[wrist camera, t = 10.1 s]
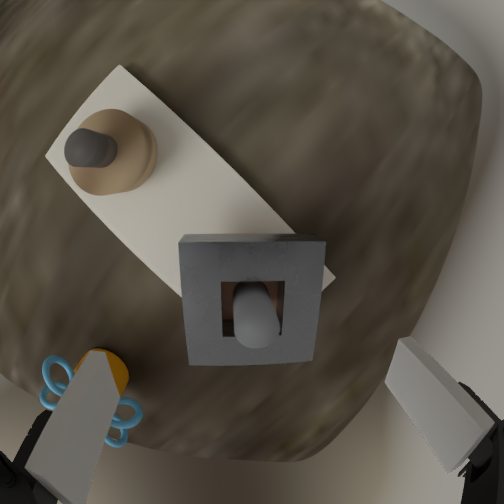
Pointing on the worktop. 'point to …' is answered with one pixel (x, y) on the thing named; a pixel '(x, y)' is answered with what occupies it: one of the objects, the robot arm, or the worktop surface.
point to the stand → (111, 153)
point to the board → (169, 184)
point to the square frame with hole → (250, 269)
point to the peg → (252, 311)
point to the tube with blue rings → (121, 381)
